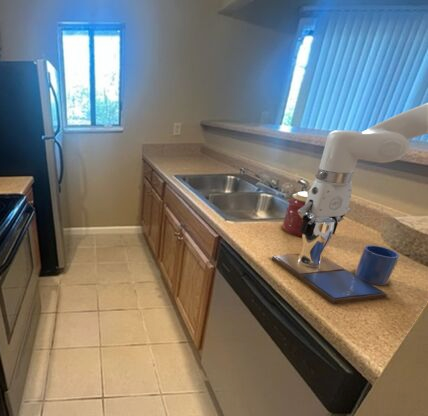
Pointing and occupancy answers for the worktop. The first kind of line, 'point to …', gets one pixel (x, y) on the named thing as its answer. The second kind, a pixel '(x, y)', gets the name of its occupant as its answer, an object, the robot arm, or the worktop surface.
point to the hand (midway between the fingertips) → (317, 233)
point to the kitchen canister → (295, 213)
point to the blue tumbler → (376, 264)
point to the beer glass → (316, 242)
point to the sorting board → (330, 280)
